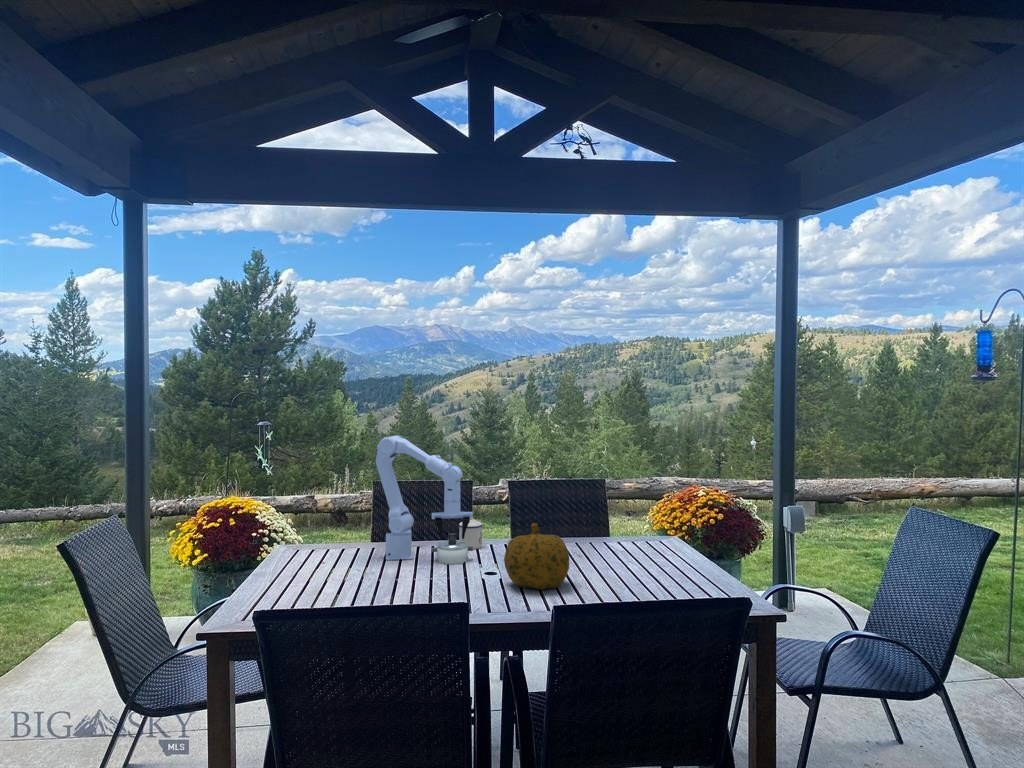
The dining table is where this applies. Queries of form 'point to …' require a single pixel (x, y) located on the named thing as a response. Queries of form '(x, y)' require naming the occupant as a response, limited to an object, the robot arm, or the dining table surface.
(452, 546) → the lid
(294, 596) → the dining table surface
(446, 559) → the pot
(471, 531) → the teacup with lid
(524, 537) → the decorative pumpkin
